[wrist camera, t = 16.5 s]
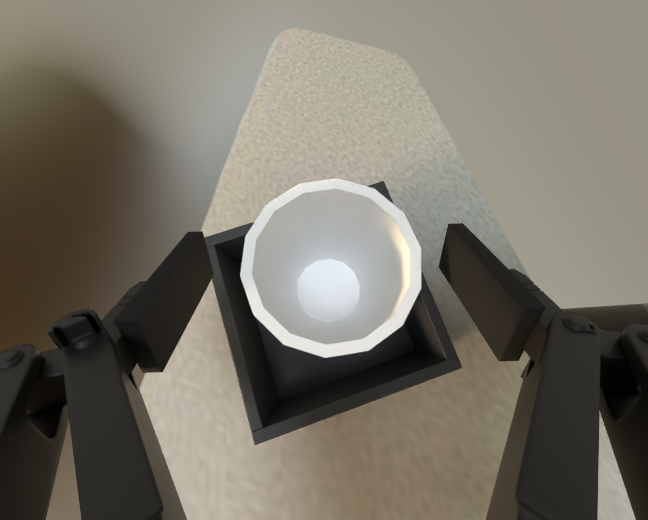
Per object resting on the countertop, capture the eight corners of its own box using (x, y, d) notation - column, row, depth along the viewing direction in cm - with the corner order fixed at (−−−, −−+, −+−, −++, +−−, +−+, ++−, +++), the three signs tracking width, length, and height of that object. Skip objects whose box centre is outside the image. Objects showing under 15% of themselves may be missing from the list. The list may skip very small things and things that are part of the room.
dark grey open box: (423, 355, 27) (462, 367, 19) (275, 409, 26) (254, 445, 18) (368, 217, 30) (383, 180, 22) (233, 261, 29) (201, 238, 21)
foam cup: (392, 319, 27) (453, 314, 14) (300, 357, 26) (278, 388, 14) (353, 229, 29) (375, 155, 16) (266, 263, 28) (218, 212, 16)
